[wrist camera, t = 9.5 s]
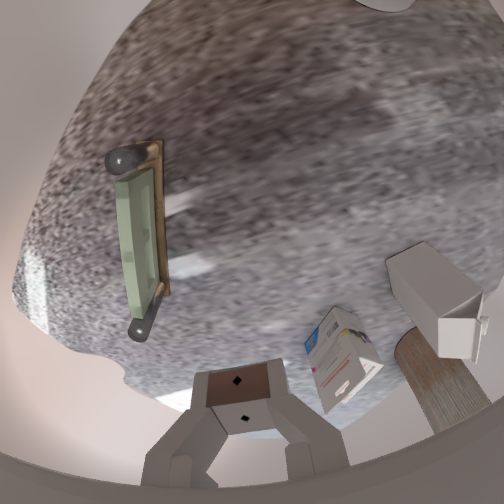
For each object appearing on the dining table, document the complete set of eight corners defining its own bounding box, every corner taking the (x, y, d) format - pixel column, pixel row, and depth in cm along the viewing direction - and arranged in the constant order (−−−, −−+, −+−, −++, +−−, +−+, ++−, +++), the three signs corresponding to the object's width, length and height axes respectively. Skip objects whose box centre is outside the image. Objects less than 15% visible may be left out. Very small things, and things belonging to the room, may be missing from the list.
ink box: (327, 352, 47) (350, 421, 34) (303, 343, 46) (322, 416, 33) (357, 314, 44) (393, 381, 31) (334, 304, 43) (366, 374, 30)
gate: (142, 168, 33) (114, 182, 25) (153, 168, 33) (128, 181, 25) (149, 280, 39) (131, 317, 31) (159, 281, 39) (143, 318, 31)
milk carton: (392, 295, 43) (452, 379, 26) (384, 259, 40) (456, 340, 23) (428, 277, 42) (496, 349, 25) (423, 240, 40) (504, 307, 22)
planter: (403, 370, 51) (448, 458, 30) (386, 346, 48) (438, 447, 27) (442, 341, 49) (497, 422, 28) (430, 313, 45) (497, 403, 25)
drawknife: (138, 141, 33) (100, 149, 22) (163, 140, 33) (132, 146, 23) (149, 292, 41) (126, 341, 31) (170, 293, 41) (152, 343, 31)
